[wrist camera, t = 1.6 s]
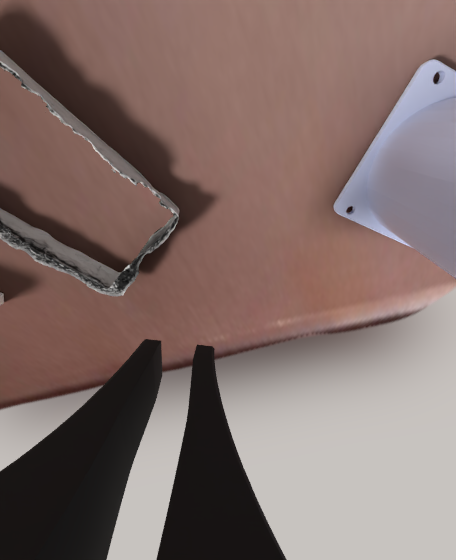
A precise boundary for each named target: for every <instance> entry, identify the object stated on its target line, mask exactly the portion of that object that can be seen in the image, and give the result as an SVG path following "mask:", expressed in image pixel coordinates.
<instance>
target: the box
mask: <svg viewBox="0 0 456 560" xmlns="http://www.w3.org/2000/svg"><path fill="white" fill-rule="evenodd" d="M3 303H4V293H0V305H2V304H3Z"/></svg>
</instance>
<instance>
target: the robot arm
mask: <svg viewBox="0 0 456 560" xmlns="http://www.w3.org/2000/svg"><path fill="white" fill-rule="evenodd" d="M437 72H438V73H439V74H440V78H439V80H438V82H437V83H436V84H434V82H433V77H434V75H435V74H436V73H437ZM350 206H353V209H352V211H351V212H349V213H346V210H347V208H348V207H350ZM334 211H335V212H336V213H337V214H339V215H341V216H343V217H345V218H348V219H350V220H352V221H354V222H356V223H359V224H361V225H363V226H365V227H367V228H370V229H372V230H374V231H376V232H378V233H381V234H383V235H385V236H387V237H390V238H392V239H394V240H396V241H398V242H401V243H403V244H405V245H407V246H409V247H412V248H414V249H415V250H417V251H418V252H419V253H421V254H422V255H424V256H425V257H426V258H428V259H429V260H430V261H432V262H433V263H435V264H436V265H437V266H439V267H440V268H442V269H443V270H444V271H446V272H447V273H448V274H450V275H451V276H453V277H454V278H455V279H456V71H455V70H453V69H452V68H450V67H448V66H447V65H445V64H443V63H442V62H440V61H438V60H435V59H433V60H429V61H426V62H425V63H423V64H422V65H421V66H420V67H419V68H418V70H417V71H416V73H415V75H414V76H413V78H412V79H411V81H410V83H409V84H408V86H407V87H406V89H405V91H404V92H403V94H402V95H401V97H400V99H399V100H398V102H397V103H396V105H395V107H394V108H393V110H392V112H391V113H390V115H389V116H388V118H387V120H386V121H385V123H384V124H383V126H382V128H381V129H380V131H379V132H378V134H377V136H376V137H375V139H374V140H373V142H372V144H371V145H370V147H369V148H368V150H367V152H366V153H365V155H364V156H363V158H362V160H361V161H360V163H359V165H358V166H357V168H356V169H355V171H354V173H353V174H352V176H351V177H350V179H349V181H348V182H347V184H346V185H345V187H344V189H343V190H342V192H341V193H340V195H339V197H338V198H337V200H336V201H335V203H334ZM161 378H162V355H161V341H158V340H149V339H145V340H144V341H143V342H142V343H141V344H140V346H139V347H138V348H137V349H136V351H135V352H134V353H133V354H132V355H131V356H130V358H129V359H128V360H127V361H126V362H125V363H124V364H123V365H122V367H121V368H120V369H119V370H118V371H117V372H116V373H115V374H114V375H113V376H112V377H111V378H110V379H109V380H108V382H107V383H106V384H105V385H104V386H103V387H102V388H101V389H99V390H98V391H97V392H96V393H95V394H94V395H93V396H92V397H91V398H90V399H89V400H88V401H87V402H86V403H85V404H84V405H83V406H82V407H81V408H80V409H79V410H77V411H76V412H75V413H74V414H73V415H72V416H71V417H70V418H68V419H67V420H66V421H65V422H64V423H63V424H61V425H60V426H59V427H58V428H57V429H56V430H54V431H53V432H52V433H51V434H49V435H48V436H47V437H45V438H44V439H43V440H42V441H40V442H39V443H38V444H37V445H36V446H34V447H33V448H32V449H30V450H29V451H28V452H26V453H25V454H24V455H22V456H21V457H20V458H19V459H17V460H16V461H14V462H13V463H11V464H10V465H9V466H7V467H6V468H5V469H3V470H2V471H0V560H106V559H107V555H108V551H109V547H110V543H111V539H112V535H113V532H114V528H115V524H116V520H117V517H118V513H119V509H120V506H121V502H122V498H123V495H124V491H125V488H126V484H127V481H128V477H129V473H130V470H131V467H132V464H133V461H134V458H135V455H136V453H137V450H138V447H139V445H140V442H141V439H142V436H143V434H144V431H145V428H146V426H147V423H148V420H149V417H150V415H151V412H152V409H153V407H154V404H155V401H156V398H157V394H158V390H159V386H160V382H161ZM157 560H286V558H285V556H284V554H283V552H282V550H281V548H280V547H279V544H278V543H277V540H276V538H275V537H274V534H273V532H272V530H271V528H270V526H269V524H268V522H267V520H266V518H265V516H264V513H263V511H262V509H261V507H260V505H259V503H258V501H257V498H256V497H255V494H254V491H253V490H252V487H251V484H250V482H249V479H248V477H247V475H246V472H245V470H244V468H243V465H242V463H241V460H240V457H239V455H238V452H237V450H236V447H235V444H234V441H233V438H232V435H231V432H230V429H229V426H228V423H227V419H226V416H225V412H224V409H223V405H222V401H221V397H220V392H219V388H218V383H217V377H216V371H215V362H214V348H213V347H212V346H204V345H197V346H196V350H195V354H194V358H193V367H192V377H191V388H190V398H189V409H188V416H187V422H186V428H185V432H184V437H183V442H182V447H181V452H180V456H179V461H178V466H177V470H176V475H175V480H174V484H173V489H172V494H171V498H170V502H169V508H168V512H167V517H166V521H165V525H164V529H163V534H162V538H161V543H160V547H159V551H158V556H157Z"/></svg>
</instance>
